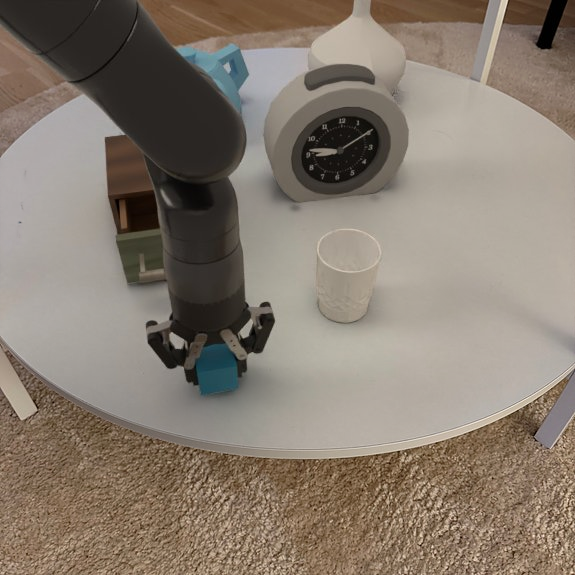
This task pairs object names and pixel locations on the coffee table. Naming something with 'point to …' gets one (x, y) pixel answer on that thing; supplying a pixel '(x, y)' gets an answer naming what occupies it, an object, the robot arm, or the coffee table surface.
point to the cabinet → (125, 173)
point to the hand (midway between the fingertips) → (216, 375)
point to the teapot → (221, 69)
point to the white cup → (346, 273)
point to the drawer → (140, 239)
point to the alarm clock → (334, 134)
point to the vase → (361, 47)
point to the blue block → (216, 369)
